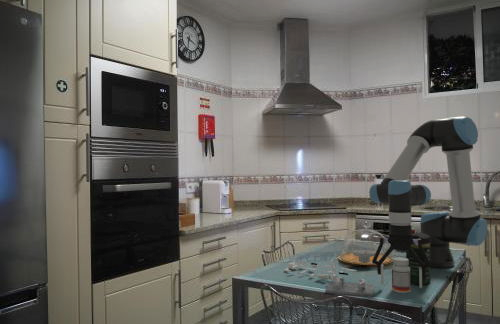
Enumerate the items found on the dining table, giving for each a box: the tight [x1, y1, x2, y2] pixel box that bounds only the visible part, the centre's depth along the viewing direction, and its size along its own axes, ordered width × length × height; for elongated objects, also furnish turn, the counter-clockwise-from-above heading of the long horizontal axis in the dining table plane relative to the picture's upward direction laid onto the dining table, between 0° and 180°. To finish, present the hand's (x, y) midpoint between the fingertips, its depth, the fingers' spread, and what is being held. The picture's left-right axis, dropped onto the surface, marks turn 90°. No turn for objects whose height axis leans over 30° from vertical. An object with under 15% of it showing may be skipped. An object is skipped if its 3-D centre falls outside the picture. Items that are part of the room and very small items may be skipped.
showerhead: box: [352, 248, 376, 264], centre depth 179 cm, size 9×7×10 cm
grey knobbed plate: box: [325, 276, 376, 298], centre depth 144 cm, size 16×12×4 cm
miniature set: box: [283, 258, 358, 281], centre depth 164 cm, size 6×35×12 cm
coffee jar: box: [405, 232, 432, 286], centre depth 153 cm, size 10×8×19 cm
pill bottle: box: [391, 256, 412, 294], centre depth 142 cm, size 6×6×11 cm
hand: (401, 285), depth 142 cm, fingers open, 12 cm apart
